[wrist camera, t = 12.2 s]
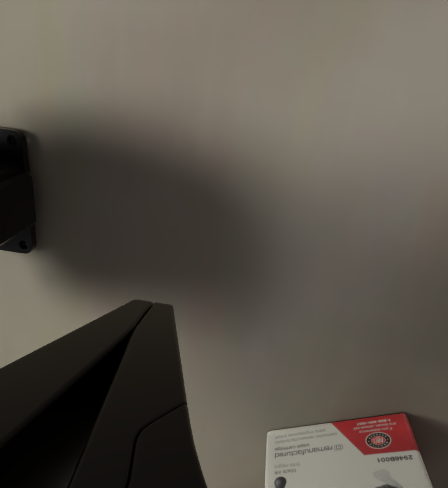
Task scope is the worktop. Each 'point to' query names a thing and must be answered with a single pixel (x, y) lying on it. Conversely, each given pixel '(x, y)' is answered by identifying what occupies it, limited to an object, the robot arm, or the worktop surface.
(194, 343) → the worktop surface
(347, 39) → the worktop surface
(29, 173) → the robot arm
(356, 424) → the ink box
